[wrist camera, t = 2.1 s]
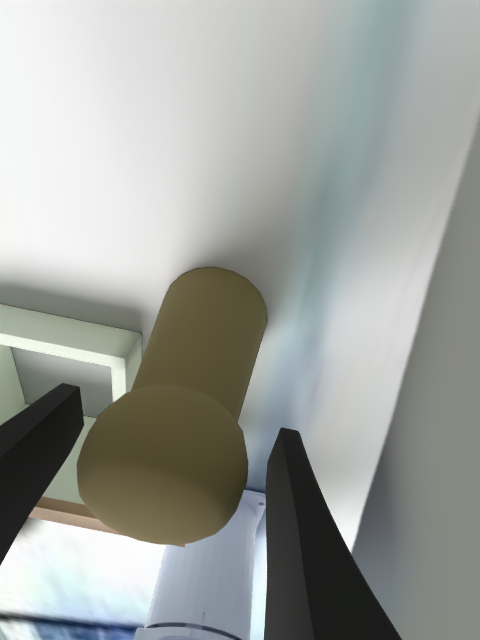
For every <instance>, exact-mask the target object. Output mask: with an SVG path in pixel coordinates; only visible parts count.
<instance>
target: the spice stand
mask: <svg viewBox="0 0 480 640" xmlns="http://www.w3.org/2000/svg"><path fill="white" fill-rule="evenodd" d="M10 346H11V347H16V348H21V349H26V350H31V351H36V352H40V353H45V354H50V355H55V356H60V357H65V358H70V359H75V360H80V361H85V362H89V363H94V364H99V365H104V366H109V367H111V375H112V394H113V402H115V401H116V400H117V399H118V398H120V397H121V396H122V395H124V394H125V393H127V392H130V391H131V389H132V386H133V383H134V380H135V378H136V375H137V372H138V369H139V367H140V364H141V361H142V333H139V332H134V331H129V330H124V329H119V328H114V327H110V326H105V325H100V324H95V323H90V322H85V321H80V320H76V319H71V318H66V317H61V316H56V315H51V314H46V313H41V312H37V311H32V310H27V309H22V308H17V307H12V306H7V305H3V304H0V425H1V424H3V423H4V422H6V421H7V420H9V419H10V418H12V417H13V416H15V415H16V414H18V413H19V412H21V411H22V410H24V409H25V408H27V407H28V406H30V405H28V404H26V403H25V400H24V396H23V392H22V388H21V385H20V381H19V377H18V373H17V370H16V366H15V362H14V358H13V355H12V351H11V347H10ZM83 418H84V427H83V429H82V431H81V433H80V435H79V437H78V439H77V441H76V443H75V445H74V447H73V449H72V451H71V453H70V454H69V456H68V457H67V459H66V460H65V462H64V463H63V465H62V467H61V468H60V470H59V471H58V473H57V474H56V476H55V477H54V479H53V480H52V482H51V483H50V485H49V486H48V488H47V489H46V491H45V492H44V494H43V495H42V497H41V498H40V500H39V501H38V503H37V504H36V506H35V507H34V509H33V510H32V512H31V513H30V515H29V516H28V517H32V518H37V519H42V520H47V521H53V522H58V523H63V524H68V525H73V526H78V527H83V528H88V529H93V530H98V531H103V532H108V533H113V534H119V535H123V534H120V533H119V532H117V531H115V530H113V529H111V528H109V527H108V526H106V525H105V524H103V523H102V522H101V521H100V520H99V519H97V518H96V517H95V516H94V515H93V514H92V513H91V512H90V510H89V509H88V508H87V506H86V505H85V503H84V502H83V500H82V499H81V497H80V496H79V491H78V484H77V461H78V457H79V454H80V451H81V448H82V445H83V443H84V441H85V438H86V436H87V434H88V432H89V430H90V429H91V427H92V425H93V424H94V422H95V421H96V419H97V418H92V417H87V416H83ZM124 536H126V535H124ZM174 546H180V547H185V544H180V545H174Z"/></svg>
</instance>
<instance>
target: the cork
mask: <svg viewBox="0 0 480 640" xmlns="http://www.w3.org/2000/svg"><path fill="white" fill-rule="evenodd" d="M266 324H267V312H266V305H265V303H264V301H263V299H262V297H261V295H260V293H259V291H258V290H257V289H256V288H255V287H254V286H253V285H252V284H251V283H250V282H249V281H248V280H247V279H245V278H243V277H242V276H240V275H238V274H236V273H235V272H233V271H230V270H225V269H221V268H216V267H209V268H197V269H194V270H192V271H190V272H187V273H185V274H182V275H181V276H180V277H179V278H178V279H177V280H175V281H174V282H173V283H172V284H171V285H170V287H169V289H168V291H167V293H166V295H165V297H164V300H163V303H162V305H161V308H160V311H159V314H158V317H157V319H156V322H155V325H154V328H153V330H152V333H151V336H150V339H149V342H148V344H147V347H146V350H145V353H144V355H143V358H142V361H141V364H140V367H139V369H138V372H137V375H136V378H135V380H134V383H133V386H132V389H131V391H130V392H127V393H125V394H124V395H122V396H121V397H120V398H118V399H117V400H116V401H115V402H113V403H112V404H111V405H110V406H109V407H108V408H107V409H106V410H104V411H103V412H102V413H101V414H100V415H99V416H98V418H97V419H96V421H95V422H94V424H93V425H92V427H91V429H90V430H89V432H88V434H87V436H86V438H85V441H84V443H83V445H82V448H81V451H80V454H79V457H78V461H77V484H78V491H79V496H80V497H81V499H82V500H83V502H84V503H85V505H86V506H87V508H88V509H89V510H90V512H91V513H92V514H93V515H94V516H95V517H96V518H97V519H99V520H100V521H101V522H102V523H103V524H105V525H106V526H108V527H109V528H111V529H113V530H115V531H117V532H119V533H120V534H123V535H126V536H128V537H131V538H134V539H137V540H140V541H145V542H150V543H155V544H165V545H180V544H189V543H194V542H196V541H199V540H202V539H204V538H207V537H210V536H212V535H215V534H216V533H217V532H219V531H220V530H221V529H222V528H223V527H225V526H226V524H227V523H228V522H229V520H230V519H231V518H232V516H233V515H234V514H235V512H236V511H237V508H238V506H239V503H240V500H241V497H242V495H243V492H244V489H245V486H246V483H247V476H248V458H247V452H246V446H245V441H244V436H243V431H242V430H241V428H240V427H239V425H238V423H237V422H238V419H239V416H240V412H241V409H242V405H243V402H244V399H245V395H246V392H247V388H248V385H249V382H250V378H251V375H252V371H253V368H254V365H255V361H256V358H257V354H258V351H259V348H260V344H261V341H262V337H263V334H264V330H265V327H266Z"/></svg>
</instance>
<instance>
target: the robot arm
mask: <svg viewBox="0 0 480 640" xmlns="http://www.w3.org/2000/svg"><path fill="white" fill-rule="evenodd" d="M83 427H84V418H83V411H82V403H81V395H80V388H79V386H74V385H69V384H64V383H62V384H60V385H59V386H57V387H56V388H54V389H53V390H51V391H50V392H48V393H47V394H45V395H44V396H43V397H41V398H40V399H38V400H37V401H35V402H34V403H33V404H31V405H30V406H28V407H27V408H25V409H24V410H22V411H21V412H19V413H18V414H16V415H15V416H13V417H12V418H10V419H9V420H7V421H6V422H4V423H3V424H1V425H0V565H1V563H2V561H3V560H4V558H5V556H6V554H7V552H8V551H9V549H10V547H11V545H12V543H13V541H14V540H15V538H16V536H17V534H18V532H19V531H20V529H21V528H22V526H23V524H24V523H25V521H26V519H27V518H28V516H29V515H30V513H31V512H32V510H33V509H34V507H35V506H36V504H37V503H38V501H39V500H40V498H41V497H42V495H43V494H44V492H45V491H46V489H47V488H48V486H49V485H50V483H51V482H52V480H53V479H54V477H55V476H56V474H57V473H58V471H59V470H60V468H61V467H62V465H63V463H64V462H65V460H66V459H67V457H68V456H69V454H70V453H71V451H72V449H73V447H74V445H75V443H76V441H77V439H78V437H79V435H80V433H81V431H82V429H83ZM265 508H266V538H267V594H266V613H265V630H264V640H402V639H401V638H400V636H399V634H398V632H397V631H396V629H395V628H394V626H393V624H392V623H391V621H390V620H389V618H388V616H387V615H386V613H385V612H384V610H383V608H382V607H381V605H380V604H379V602H378V600H377V599H376V598H375V596H374V594H373V592H372V591H371V589H370V587H369V585H368V584H367V582H366V580H365V578H364V577H363V575H362V573H361V572H360V570H359V568H358V566H357V564H356V563H355V561H354V559H353V557H352V555H351V553H350V551H349V550H348V548H347V546H346V544H345V542H344V540H343V538H342V536H341V534H340V532H339V530H338V528H337V526H336V523H335V521H334V519H333V517H332V515H331V513H330V511H329V508H328V506H327V504H326V502H325V499H324V497H323V495H322V492H321V490H320V488H319V485H318V483H317V480H316V478H315V475H314V473H313V470H312V468H311V465H310V462H309V460H308V457H307V454H306V451H305V448H304V445H303V442H302V439H301V436H300V433H299V432H298V431H296V430H291V429H286V428H281V429H280V431H279V434H278V436H277V439H276V442H275V444H274V447H273V449H272V452H271V455H270V457H269V460H268V464H267V477H266V491H265V494H264V493H260V492H255V491H250V490H245V489H244V492H243V495H242V497H241V500H240V503H239V506H238V508H237V511H236V512H235V514H234V515H233V516H232V518H231V519H230V520H229V522H228V523H227V524H226V526H225V527H223V528H222V529H221V530H220V531H219V532H217V533H216V534H215V535H212V536H210V537H207V538H204V539H202V540H199V541H196V542H194V543H189V544H185V547H180V546H174V545H166V547H165V551H164V555H163V559H162V563H161V566H160V570H159V574H158V578H157V582H156V585H155V589H154V593H153V597H152V601H151V604H150V608H149V612H148V616H147V620H146V623H145V627H144V628H137V631H136V634H135V638H134V640H250V629H251V609H252V588H253V568H254V547H255V531H256V529H257V526H258V524H259V522H260V520H261V517H262V515H263V513H264V510H265Z"/></svg>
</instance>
